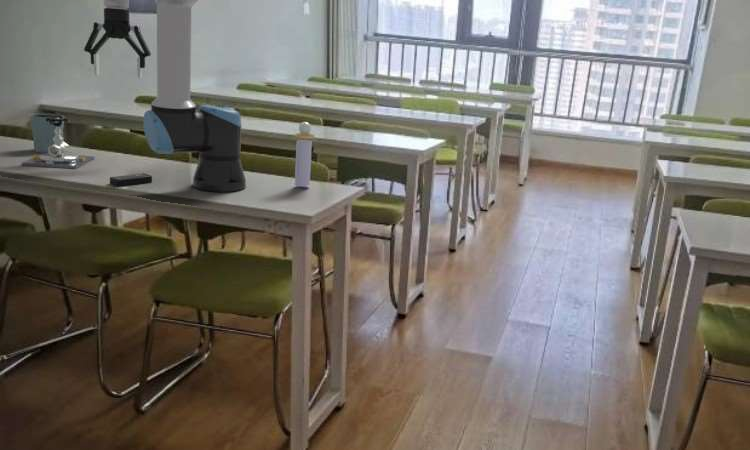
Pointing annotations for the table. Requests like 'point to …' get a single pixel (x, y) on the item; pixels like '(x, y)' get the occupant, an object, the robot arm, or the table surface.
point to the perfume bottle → (303, 156)
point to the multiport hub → (130, 180)
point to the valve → (57, 137)
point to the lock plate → (58, 160)
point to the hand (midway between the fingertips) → (118, 76)
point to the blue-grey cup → (43, 131)
